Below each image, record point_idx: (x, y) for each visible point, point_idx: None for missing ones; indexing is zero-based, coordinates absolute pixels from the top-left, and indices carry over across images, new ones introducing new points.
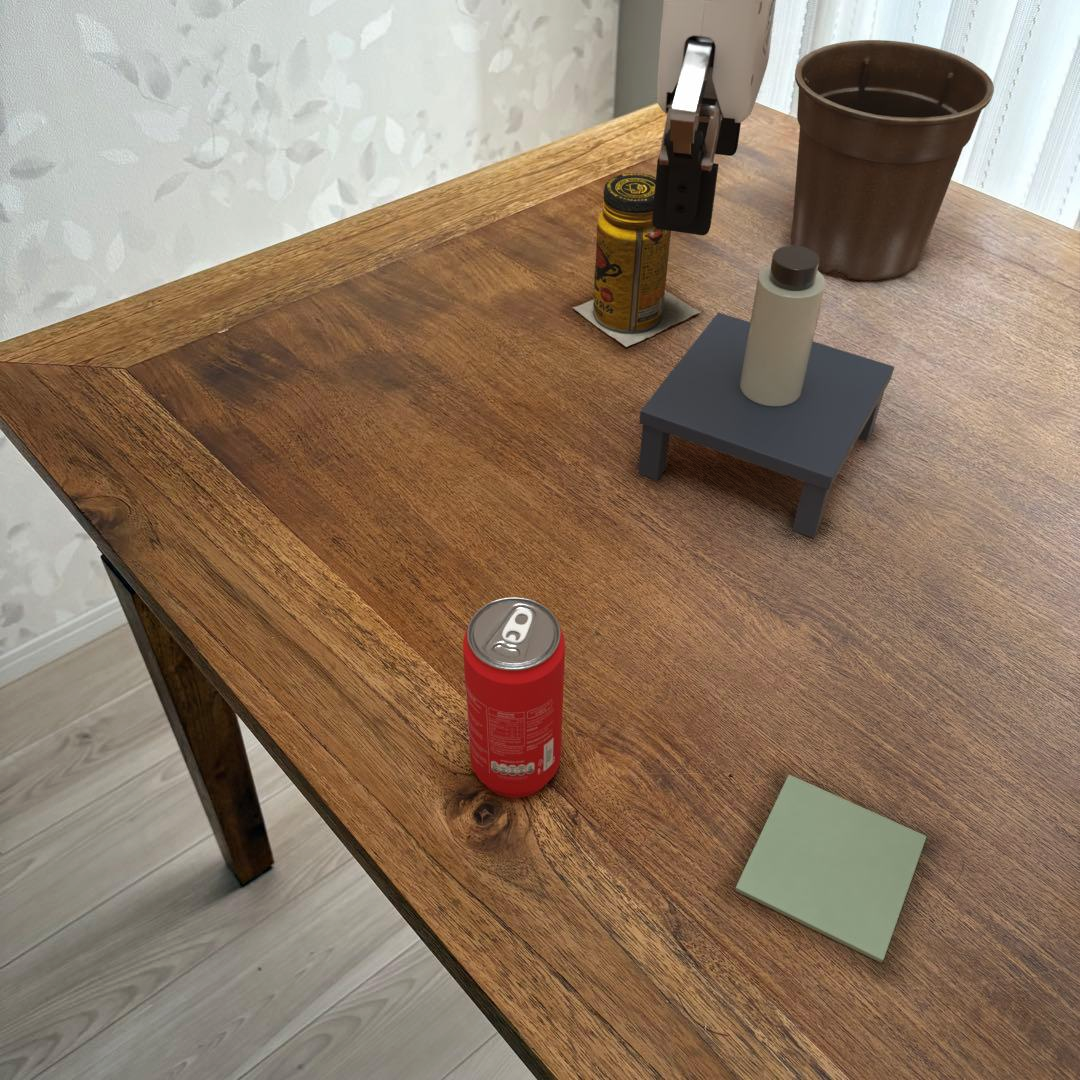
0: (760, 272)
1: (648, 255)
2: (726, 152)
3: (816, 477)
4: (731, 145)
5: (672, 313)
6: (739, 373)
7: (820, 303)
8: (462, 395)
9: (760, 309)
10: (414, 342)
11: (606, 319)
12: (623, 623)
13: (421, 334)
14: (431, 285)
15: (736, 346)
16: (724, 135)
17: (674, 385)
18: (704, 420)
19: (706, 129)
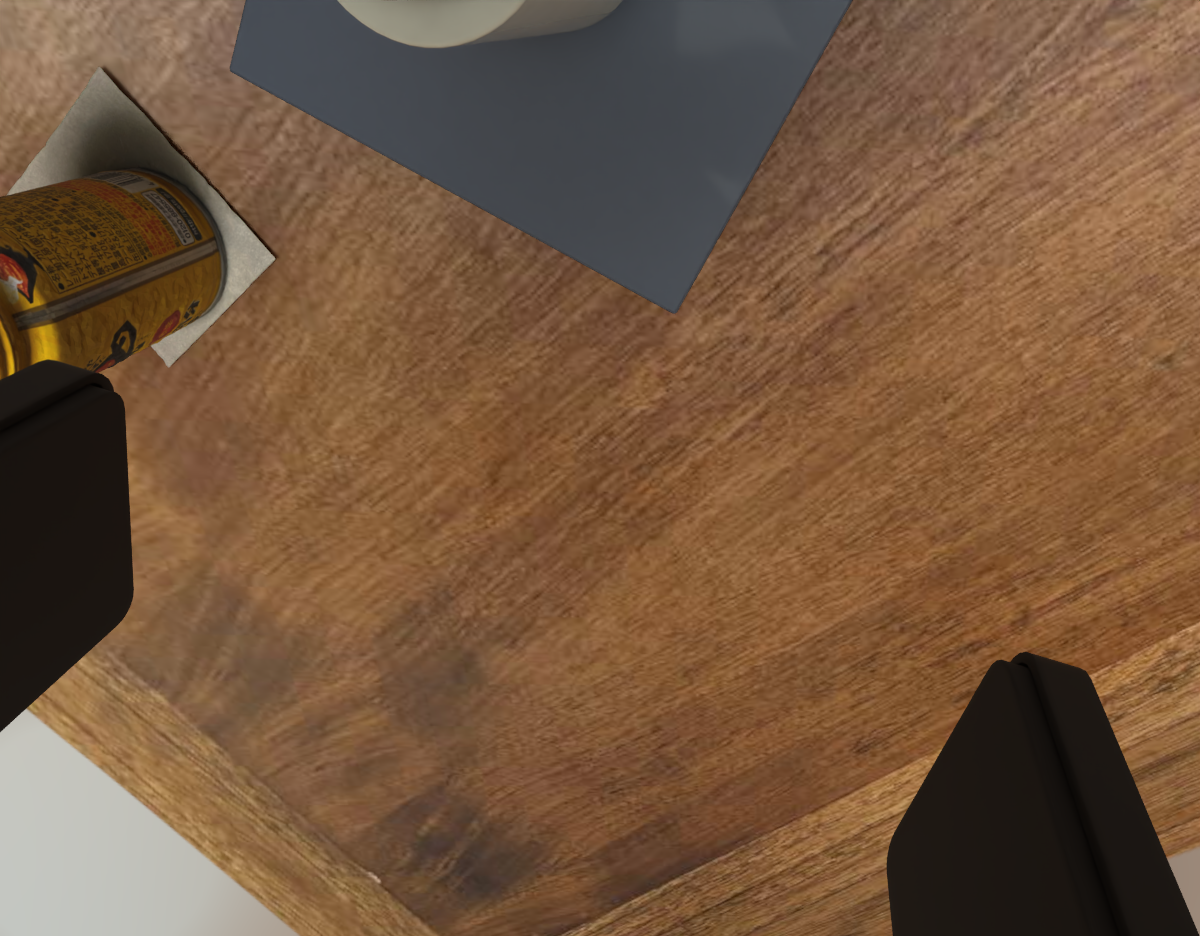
0: (393, 35)
1: (72, 272)
2: (113, 426)
3: None
4: (79, 425)
5: (124, 140)
6: None
7: None
8: (480, 569)
9: (523, 26)
10: (344, 639)
11: (206, 306)
12: (1150, 308)
13: (319, 628)
14: (173, 610)
15: None
16: (40, 497)
17: (568, 221)
18: (714, 151)
19: (35, 608)
